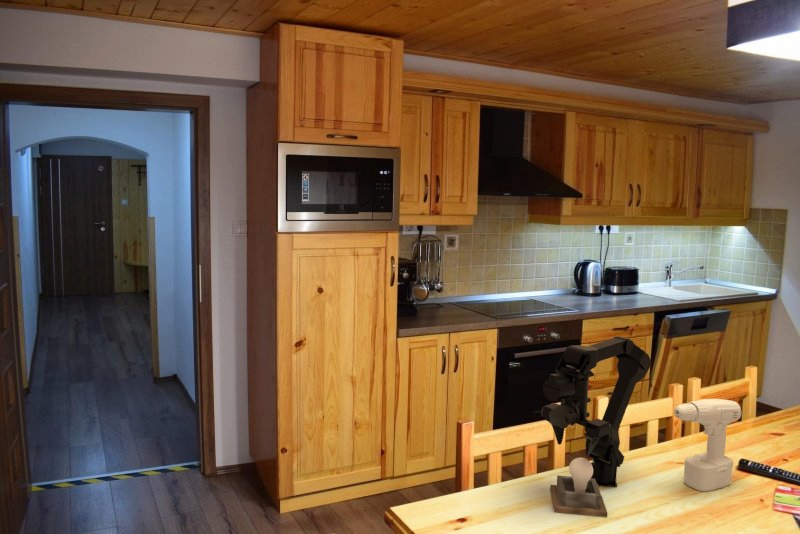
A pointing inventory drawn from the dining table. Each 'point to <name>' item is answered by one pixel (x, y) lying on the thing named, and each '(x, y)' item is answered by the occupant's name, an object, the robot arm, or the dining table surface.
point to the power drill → (709, 442)
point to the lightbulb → (580, 473)
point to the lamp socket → (577, 498)
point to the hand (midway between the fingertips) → (573, 450)
